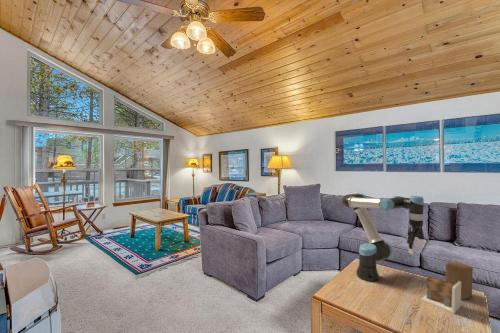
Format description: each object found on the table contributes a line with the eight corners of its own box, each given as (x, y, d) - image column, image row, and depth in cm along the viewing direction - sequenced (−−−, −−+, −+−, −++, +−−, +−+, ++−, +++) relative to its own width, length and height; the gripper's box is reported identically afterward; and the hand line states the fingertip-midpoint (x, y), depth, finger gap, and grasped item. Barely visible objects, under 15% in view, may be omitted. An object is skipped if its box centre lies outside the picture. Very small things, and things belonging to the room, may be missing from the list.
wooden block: (461, 300, 150) (462, 269, 149) (444, 291, 159) (445, 262, 158) (472, 298, 152) (473, 267, 151) (455, 289, 162) (456, 260, 161)
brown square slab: (426, 296, 151) (427, 278, 151) (429, 294, 153) (429, 276, 153) (450, 306, 141) (451, 286, 141) (452, 304, 144) (453, 284, 143)
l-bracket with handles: (421, 300, 150) (422, 276, 149) (428, 293, 157) (429, 271, 156) (454, 314, 137) (454, 288, 136) (460, 306, 144) (461, 281, 143)
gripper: (414, 223, 150) (413, 257, 151) (430, 217, 164) (429, 248, 165) (401, 221, 156) (400, 253, 157) (417, 215, 170) (416, 245, 171)
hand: (415, 250), depth 161 cm, fingers open, 13 cm apart
